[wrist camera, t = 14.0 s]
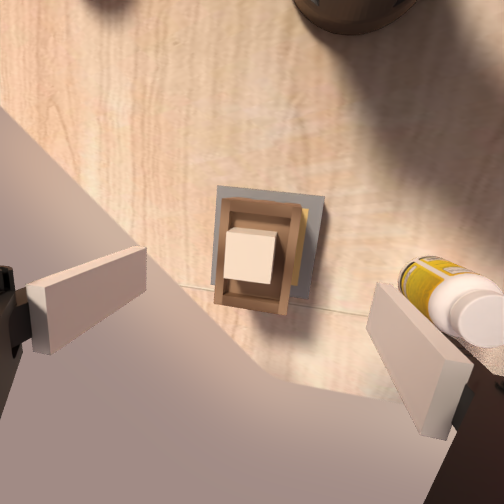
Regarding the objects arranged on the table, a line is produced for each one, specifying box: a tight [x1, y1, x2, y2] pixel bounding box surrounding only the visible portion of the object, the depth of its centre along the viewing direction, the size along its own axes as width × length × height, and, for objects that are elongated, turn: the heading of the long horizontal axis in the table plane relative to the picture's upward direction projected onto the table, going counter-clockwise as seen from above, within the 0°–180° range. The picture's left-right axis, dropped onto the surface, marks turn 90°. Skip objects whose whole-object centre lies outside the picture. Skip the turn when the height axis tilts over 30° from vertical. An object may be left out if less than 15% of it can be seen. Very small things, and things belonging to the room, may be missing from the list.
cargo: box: [223, 227, 277, 284], centre depth 23 cm, size 4×4×3 cm
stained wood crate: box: [214, 197, 302, 315], centre depth 27 cm, size 10×7×7 cm
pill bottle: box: [398, 256, 504, 348], centre depth 26 cm, size 6×6×11 cm
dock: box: [211, 185, 325, 299], centre depth 32 cm, size 12×12×3 cm
